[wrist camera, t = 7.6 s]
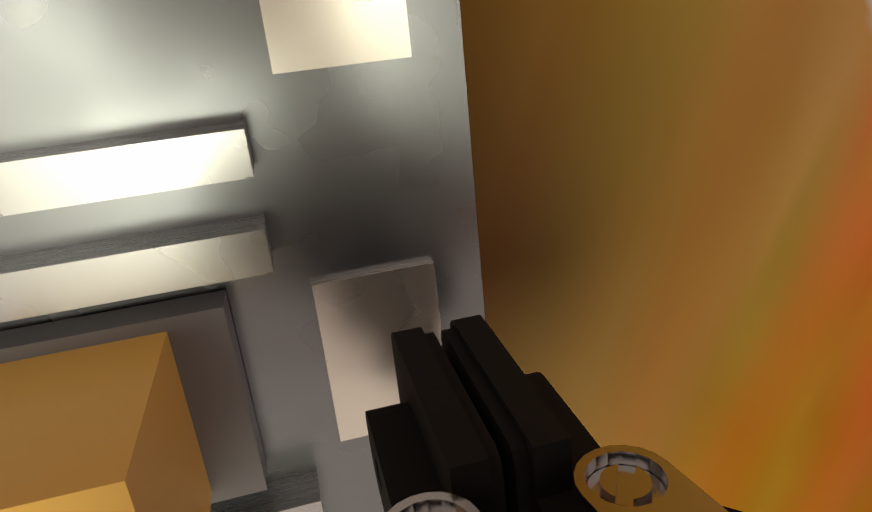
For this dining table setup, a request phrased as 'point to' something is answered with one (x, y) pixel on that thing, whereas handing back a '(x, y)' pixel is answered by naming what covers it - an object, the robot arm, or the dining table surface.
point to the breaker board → (248, 196)
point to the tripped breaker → (128, 412)
